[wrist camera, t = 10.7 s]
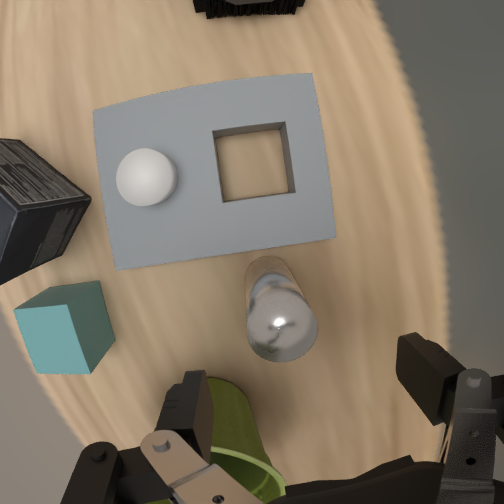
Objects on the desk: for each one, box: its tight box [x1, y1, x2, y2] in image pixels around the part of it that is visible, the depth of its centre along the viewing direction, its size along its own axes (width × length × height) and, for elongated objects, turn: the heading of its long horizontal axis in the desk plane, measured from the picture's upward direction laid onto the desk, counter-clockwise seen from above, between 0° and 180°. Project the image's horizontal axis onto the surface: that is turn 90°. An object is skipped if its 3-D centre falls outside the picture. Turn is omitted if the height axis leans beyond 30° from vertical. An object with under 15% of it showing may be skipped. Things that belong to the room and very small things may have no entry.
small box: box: [0, 138, 91, 285], centre depth 18 cm, size 11×6×10 cm, turn 54°
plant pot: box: [145, 378, 287, 504], centre depth 23 cm, size 12×12×11 cm
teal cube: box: [14, 281, 115, 374], centre depth 23 cm, size 6×6×6 cm
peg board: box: [93, 73, 336, 271], centre depth 21 cm, size 12×16×5 cm
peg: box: [245, 256, 318, 362], centre depth 21 cm, size 4×4×10 cm
